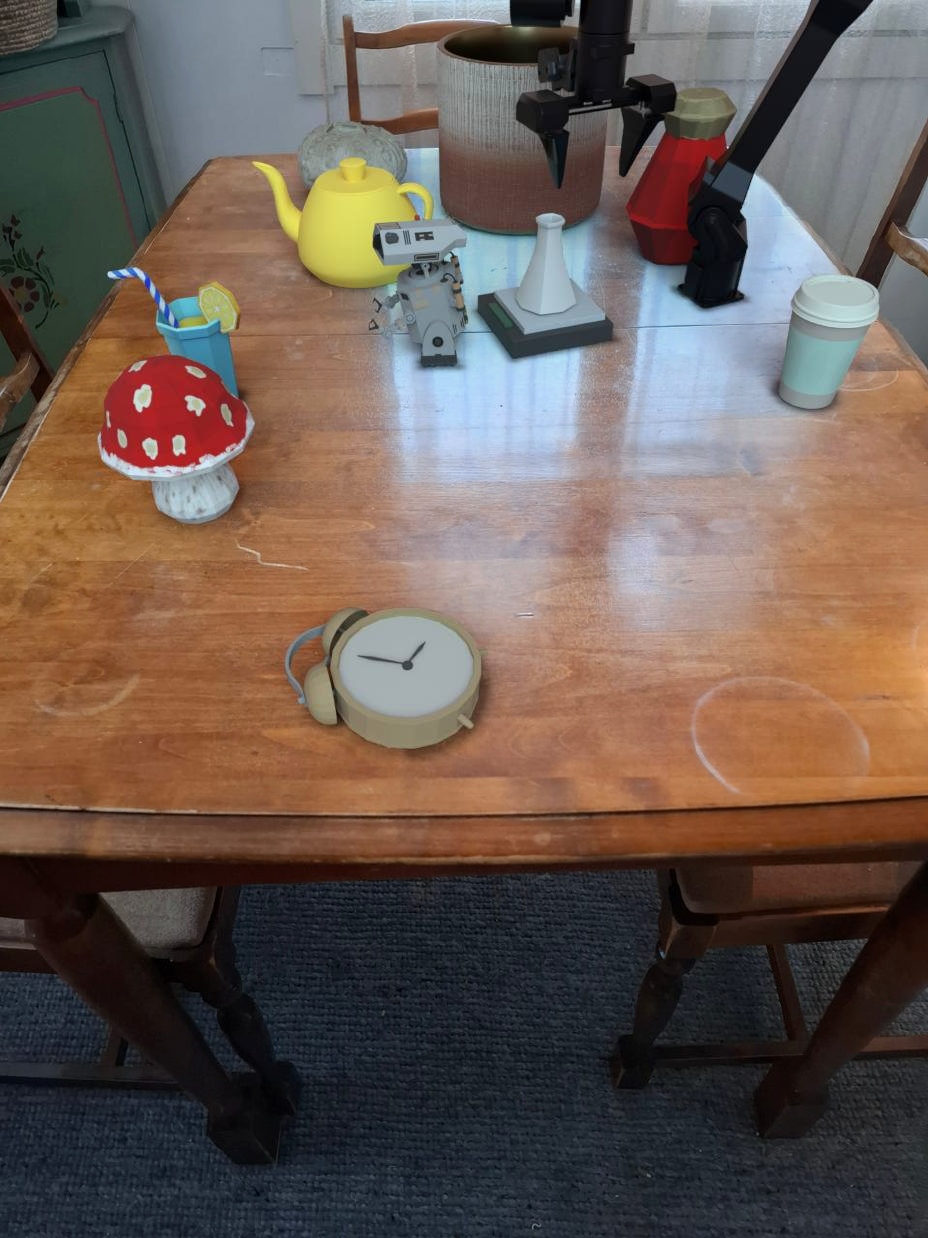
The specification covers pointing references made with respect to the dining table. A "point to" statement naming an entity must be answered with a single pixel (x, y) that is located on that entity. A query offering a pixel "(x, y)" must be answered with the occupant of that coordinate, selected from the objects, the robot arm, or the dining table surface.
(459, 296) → the figurine
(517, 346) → the kitchen scale
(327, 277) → the teapot
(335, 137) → the decorative shell
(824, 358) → the coffee cup
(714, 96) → the bottle
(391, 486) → the dining table surface
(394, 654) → the alarm clock
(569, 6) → the robot arm
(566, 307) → the grey faceted vase
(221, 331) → the cup
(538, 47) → the planter
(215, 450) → the decorative mushroom
